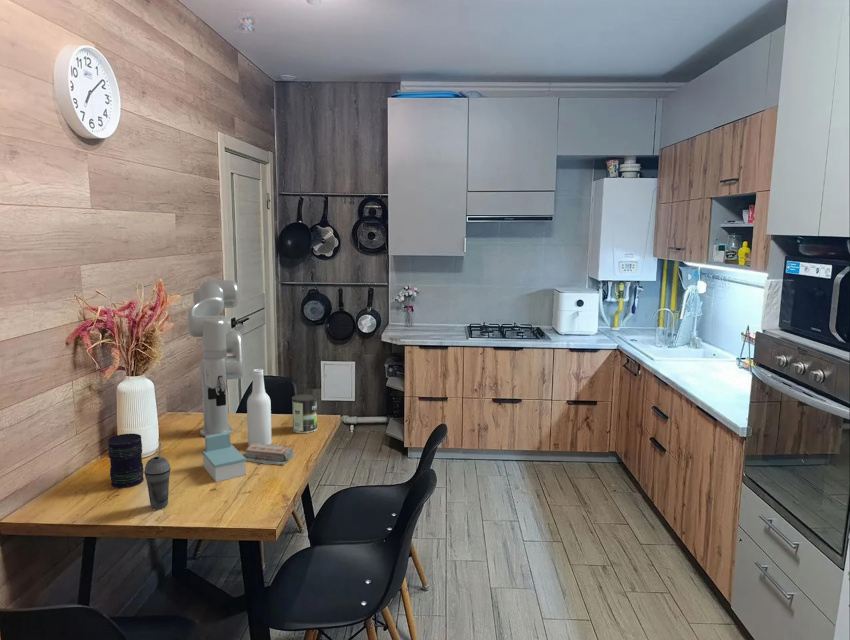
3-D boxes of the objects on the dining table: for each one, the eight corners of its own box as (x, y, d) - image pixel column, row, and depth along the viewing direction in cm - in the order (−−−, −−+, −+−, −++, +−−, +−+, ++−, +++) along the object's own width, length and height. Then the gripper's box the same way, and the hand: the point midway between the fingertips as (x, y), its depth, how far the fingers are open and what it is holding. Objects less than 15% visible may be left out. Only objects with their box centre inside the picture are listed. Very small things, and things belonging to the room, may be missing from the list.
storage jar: (105, 482, 191) (102, 438, 189) (135, 473, 198) (133, 431, 196) (118, 491, 185) (115, 446, 182) (149, 481, 192) (147, 438, 190)
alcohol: (270, 439, 232) (268, 366, 228) (272, 447, 224) (271, 371, 219) (247, 442, 229) (245, 368, 224) (249, 450, 221) (247, 373, 216)
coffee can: (319, 425, 250) (319, 393, 248) (314, 433, 240) (314, 400, 237) (295, 425, 250) (295, 393, 248) (289, 433, 240) (289, 400, 238)
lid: (202, 453, 204) (201, 436, 203) (231, 447, 210) (231, 431, 209) (214, 468, 192) (214, 450, 191) (246, 461, 198) (245, 444, 197)
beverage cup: (146, 503, 177) (143, 440, 174) (172, 499, 180) (169, 437, 177) (145, 514, 170) (141, 449, 167) (172, 509, 173) (169, 445, 170)
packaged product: (295, 444, 216) (283, 454, 206) (296, 456, 217) (283, 467, 207) (252, 439, 220) (237, 448, 211) (252, 451, 221) (238, 461, 211)
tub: (203, 466, 205) (202, 453, 204) (232, 460, 210) (231, 447, 210) (215, 482, 193) (215, 467, 192) (245, 475, 198) (245, 461, 198)
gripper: (197, 351, 206) (199, 398, 208) (211, 359, 192) (213, 410, 194) (218, 349, 210) (220, 395, 213) (233, 357, 196) (235, 406, 199)
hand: (216, 402), depth 203 cm, fingers open, 9 cm apart
